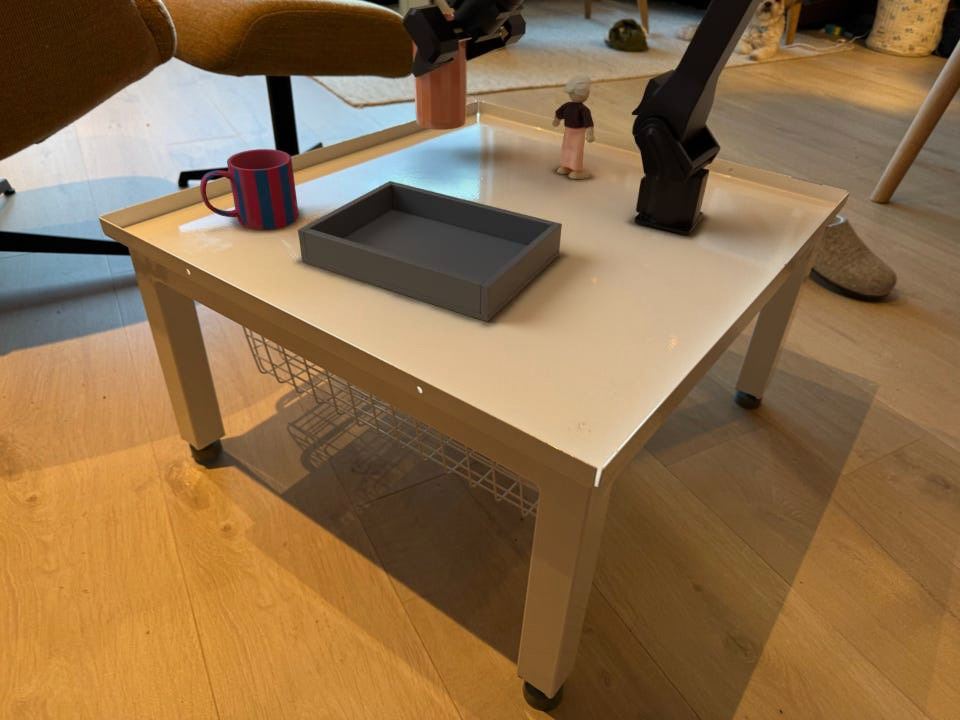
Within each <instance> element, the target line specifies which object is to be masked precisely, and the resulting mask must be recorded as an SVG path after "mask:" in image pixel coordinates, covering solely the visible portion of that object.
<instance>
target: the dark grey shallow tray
mask: <svg viewBox="0 0 960 720" xmlns="http://www.w3.org/2000/svg"><path fill="white" fill-rule="evenodd" d="M562 227H563V224H562V223H560V222H555V221H553V220H548V219H545V218H544V219H543V218H541V217H537V216H533V215H528V214H524V213H520V212H516V211H513V210H509V209H504V208H502V207H501V208H500V207H498V206H497V207H496V206H492V205H488V204H484V203H480V202H476V201H472V200H468V199H464V198H460V197H456V196H452V195H448V194H444V193H440V192H436V191H432V190H428V189H424V188H421V187H420V188H419V187H416V186H412V185H408V184H403V183H400V182H395V181H393V180H389V181H387V182H385V183H383V184H381V185H379V186H378V187H376V188H373V189H372V190H369V191H368V192H366V193H363V194H362V195H360V196H358V197H357V198H354V199H353V200H350V201H349V202H347V203H345V204H343V205H341V206H340V207H338V208H336V209H334V210H332V211H330V212H328V213H326V214H324V215H322V216H320V217H319V218H316V219H315V220H313V221H311V222H309V223H307V224H305V225H303V226H302V227H299V228H298V229H297V233H298V240H299V241H298V242H299V249H300V255H301V257H300V258H301V262H302V263H305V264H308V265H311V266H314V267H317V268H319V269H323V270H326V271H328V272H329V271H330V272H333V273H336V274H337V275H338V274H339V275H341V276H345V277H348V278H351V279H354V280H357V281H359V282H360V281H361V282H363V283H366V284H370V285H372V286H375V287H378V288H382V289H385V290H388V291H390V292H391V291H392V292H393V293H397V294H400V295H403V296H406V297H410V298H412V299H416V300H419V301H422V302H425V303H428V304H432V305H435V306H437V307H441V308H443V309H447V310H449V311H452V312H456V313H459V314H461V315H462V314H463V315H466V316H469V317H471V318H474V319H478V320H481V321H483V322H487V323H488V322H489V321H490V320H491V319H493V317H494V316H496V315H497V313H499V312H500V311H501V310H502V309H503V308H505V306H506V305H508V303H509V302H510V301H511V300H513V299H514V298H515V297H516V296H517V295H518V294H519V293H520V292H521V291H523V289H524V288H525V287H526V286H528V285H529V284H530V283H531V282H532V281H533V280H534V279H535V278H536V277H537V276H538V275H539V274H540V273H541V272H542V271H544V269H546V268H547V267H548V266H549V265H550V264H551V263H552V262H553V261H555V259H557V258H558V257H559V255H560V247H561V239H562V238H561V237H562V229H563V228H562Z"/></svg>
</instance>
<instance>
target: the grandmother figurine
mask: <svg viewBox="0 0 960 720" xmlns="http://www.w3.org/2000/svg"><path fill="white" fill-rule="evenodd" d="M591 86H592V78H591V76H590V75H588V74H586V73H583V72H579V73H577V74H574V75H573V76H572V77H571V78H569V80H567V83H566V84H565V87H564V88H563V92H564V93H566V94H568V97H569V99H570V100H571V101H566V102H565V103H563V104H561V105H560V106H559V107H558V108H556V110H555V112H554V113H555V114H554V119H553V120H552V122H551V123H552V124H551V125H552V126H553V127H555V128H557V127H559V126H560V124H561V121H562V120H563V126H564V131H563V136H562V143H561V158H560V167H558V169H557V172H556V173H558V174H559V175H560V174H561V175H568V177H569V178H570V179H572V180H581V179H582V180H584V179H588V178H589V177H590V174H589V171H588V170H586V169H585V168H584V155H585V153H584V152H585V141H586V142H587V143H591V144H592V143H593V142H595V140H596V138H595V124H594V120H593V117H592V111H591V109H590V108H589V107H588V106H587V105H585V104H584V103H585V102H586V101H588V99H589V97H590V93H591V92H590V91H591V90H590V88H591Z"/></svg>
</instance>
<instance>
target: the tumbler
mask: <svg viewBox="0 0 960 720" xmlns="http://www.w3.org/2000/svg"><path fill="white" fill-rule="evenodd" d="M442 13H443V15H444V16H445V18H446V19H447V21H450V20H454V19H453V18H452V16H451V15H452V14H453V12H442ZM411 42H412V62H414V58H415V55H416V51H417V46H416V45H415V43H414V42H413V40H412V39H411ZM453 59H454V61H452V62H450V63H448V64H446V65H443V66H441V67H439V68H437V69H435V70H432V71H430V72H428V73H426V74H424V75H421V76H419V77H415V76H414V75H413V85H414V86H413V87H414V108H415V109H414V111H415V119H416V120H415V121H416V124H417V126H419V127H421V128H424V129H428V130H434V131H435V130H436V131H437V130H438V131H447V130H455V129H458V128H461V127H464V126H465V125H466V124H467V116H468V113H467V111H468V109H467V107H468V105H467V104H468V102H467V101H468V98H467V97H468V94H467V91H468V84H467V83H468V81H467V79H468V78H467V77H468V75H467V74H468V73H467V69H468V67H467V66H468V63H467V62H468V61H467V40H465V41H460V42H459V50H458V52H457V53H456V54H455V55H454V56H453Z"/></svg>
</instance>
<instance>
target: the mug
mask: <svg viewBox="0 0 960 720" xmlns="http://www.w3.org/2000/svg"><path fill="white" fill-rule="evenodd" d="M226 163H227V170H211V171H208V172H206V173H205V174H203V176H202V177H201V180H200V184H199V190H200V195H201V199H202V201H203V203H204V205H205V207H206V208H207V209H208V210H210V211H211V212H213V213H215V214H216V215H219V216H221V217H226V218H236V220H237V222H238V223H239V224H240V225H241V226H242V227H244V228H246V229H250V230H256V231H271V230H277V229H282V228H286V227H288V226H290V225H292V224H294V223H295V222H296V221H297V220H298V219H299V216H300V214H299V205H298V197H297V190H296V182H295V176H294V175H295V174H294V169H293V160H292V156H291V154H289V153H288V152H285V151H283V150H279V149H271V148H259V149H258V148H257V149H249V150H244V151H240V152H237V153H234V154H232V155H231V156H229V158H228V159H227V160H226ZM214 177H224V178H226V179H227V180H229V182H230V188H231V193H232V198H233V205H234V209H232V210H224V209H220V208H218V207H216V206H215V207H214V205H213V204H211V202H210V201H209V199H208V195H207V185H208V182H209V181H210V180H211V179H213V178H214Z"/></svg>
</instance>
